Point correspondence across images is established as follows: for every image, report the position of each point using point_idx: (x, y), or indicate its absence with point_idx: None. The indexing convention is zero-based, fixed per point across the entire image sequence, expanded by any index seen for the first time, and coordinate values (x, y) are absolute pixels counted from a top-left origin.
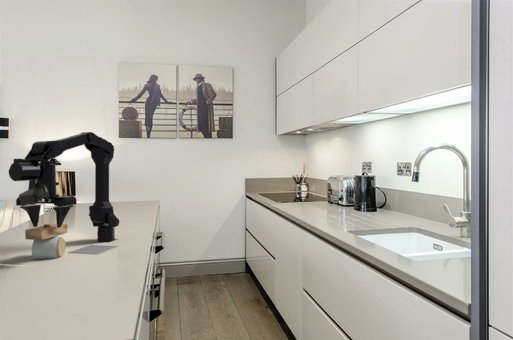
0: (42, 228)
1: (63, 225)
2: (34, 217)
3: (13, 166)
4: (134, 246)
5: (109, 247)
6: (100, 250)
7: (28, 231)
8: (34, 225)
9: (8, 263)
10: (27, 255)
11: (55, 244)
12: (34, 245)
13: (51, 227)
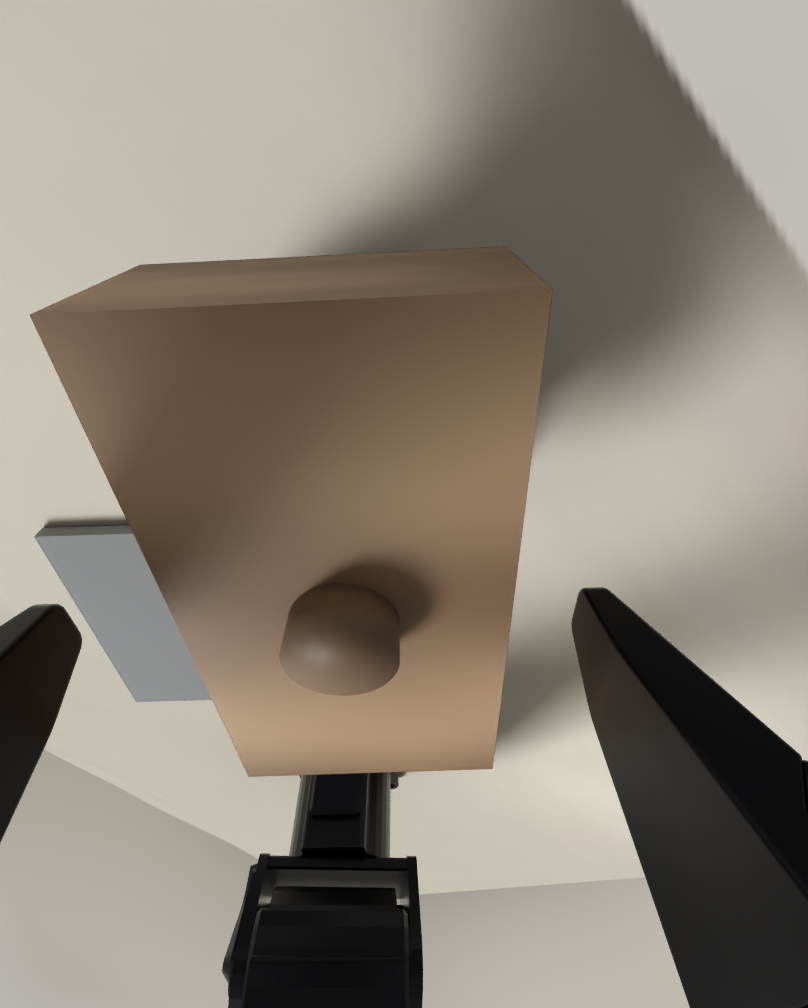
0: (276, 506)
1: (233, 733)
2: (670, 782)
3: None
4: (80, 721)
5: (158, 673)
6: (135, 615)
7: (448, 287)
8: (592, 605)
9: (662, 141)
10: (655, 441)
11: None
12: None
13: (207, 602)
